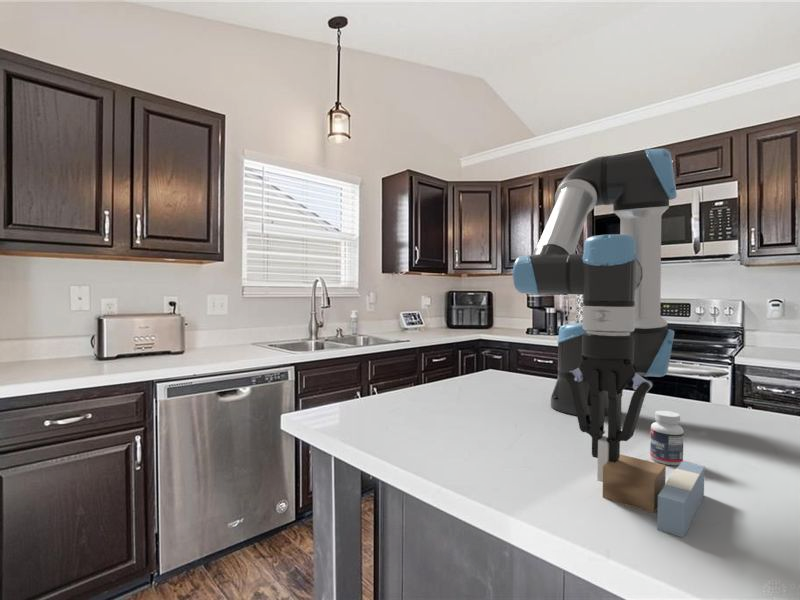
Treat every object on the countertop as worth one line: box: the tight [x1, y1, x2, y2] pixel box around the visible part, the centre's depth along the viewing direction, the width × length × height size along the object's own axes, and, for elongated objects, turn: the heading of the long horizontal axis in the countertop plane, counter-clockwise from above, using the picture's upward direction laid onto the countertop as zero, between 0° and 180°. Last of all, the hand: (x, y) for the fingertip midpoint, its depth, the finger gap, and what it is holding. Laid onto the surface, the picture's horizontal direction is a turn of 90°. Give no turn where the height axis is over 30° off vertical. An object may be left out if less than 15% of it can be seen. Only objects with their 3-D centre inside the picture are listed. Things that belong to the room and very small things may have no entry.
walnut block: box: [602, 453, 667, 514], centre depth 68 cm, size 7×7×5 cm
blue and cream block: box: [656, 460, 705, 538], centre depth 64 cm, size 3×16×5 cm, turn 138°
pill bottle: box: [649, 410, 685, 466], centre depth 82 cm, size 5×5×9 cm
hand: (605, 479), depth 71 cm, fingers closed
